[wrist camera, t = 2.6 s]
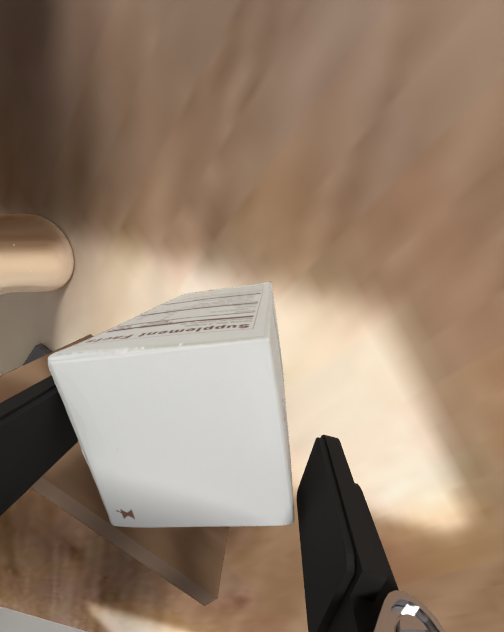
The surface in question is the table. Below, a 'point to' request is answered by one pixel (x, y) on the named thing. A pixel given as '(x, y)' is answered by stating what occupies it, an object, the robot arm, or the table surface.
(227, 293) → the supplement box
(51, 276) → the metal tumbler
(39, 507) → the table surface
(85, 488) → the wood grain panel
